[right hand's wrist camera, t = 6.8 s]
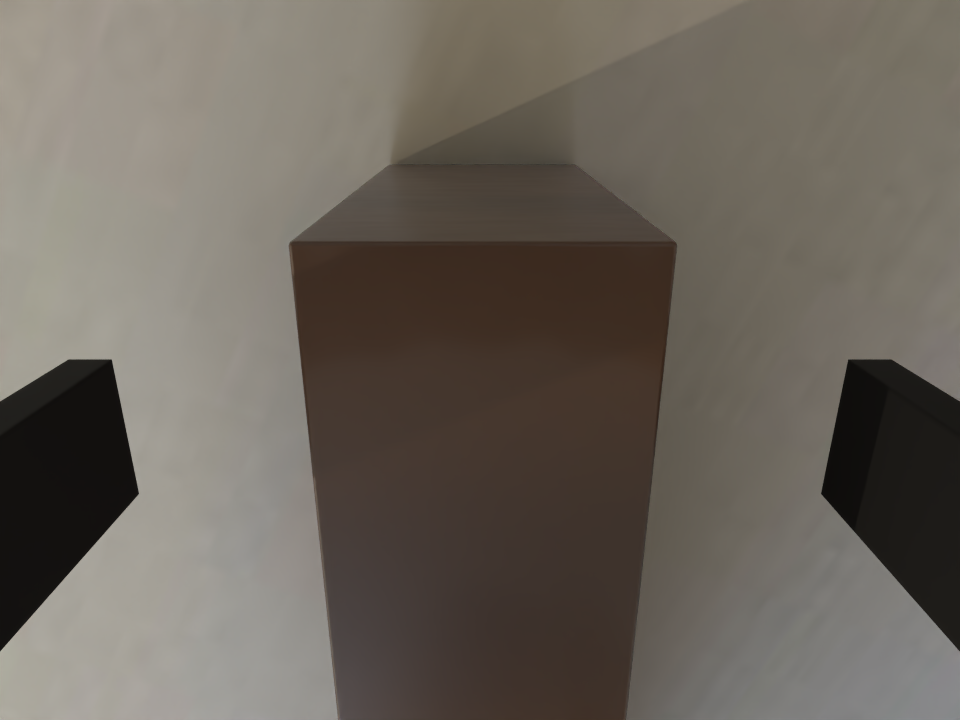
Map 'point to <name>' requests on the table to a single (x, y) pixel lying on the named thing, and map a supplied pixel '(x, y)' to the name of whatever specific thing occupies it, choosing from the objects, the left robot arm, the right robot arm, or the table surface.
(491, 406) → the walnut box
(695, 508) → the table surface
